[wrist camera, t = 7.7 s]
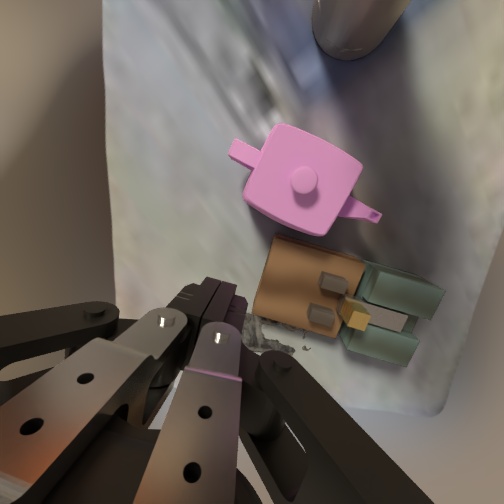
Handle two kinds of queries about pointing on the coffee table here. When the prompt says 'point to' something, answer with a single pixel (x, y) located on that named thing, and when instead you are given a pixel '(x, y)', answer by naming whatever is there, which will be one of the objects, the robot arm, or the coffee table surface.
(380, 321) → the yellow-capped grey beam
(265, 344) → the driftwood
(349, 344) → the block set
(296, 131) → the teapot
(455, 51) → the coffee table surface
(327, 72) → the coffee table surface
